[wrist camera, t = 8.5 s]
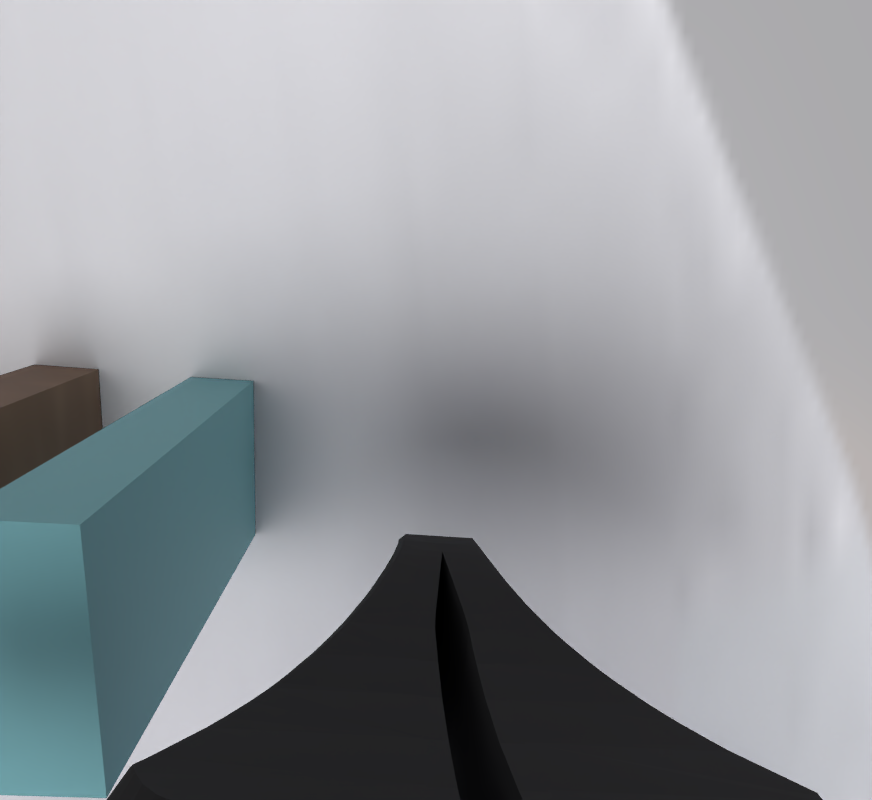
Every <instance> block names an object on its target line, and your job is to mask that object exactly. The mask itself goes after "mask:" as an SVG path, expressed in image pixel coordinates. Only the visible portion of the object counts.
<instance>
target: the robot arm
mask: <svg viewBox="0 0 872 800" xmlns="http://www.w3.org/2000/svg"><path fill="white" fill-rule="evenodd" d="M107 800H822V799H821V797H820V796H819V795H818V793H816V792H814V791H812V790H810V789H808V788H806V787H803V786H801V785H799V784H797V783H795V782H793V781H791V780H789V779H787V778H785V777H783V776H780V775H778V774H776V773H774V772H772V771H770V770H768V769H766V768H764V767H762V766H759V765H757V764H755V763H753V762H751V761H749V760H747V759H745V758H743V757H741V756H739V755H736V754H734V753H732V752H730V751H728V750H726V749H725V748H723V747H721V746H719V745H717V744H715V743H714V742H712V741H710V740H708V739H706V738H705V737H703V736H701V735H699V734H698V733H696V732H694V731H692V730H690V729H689V728H687V727H685V726H683V725H682V724H680V723H678V722H676V721H675V720H673V719H671V718H670V717H668V716H666V715H665V714H663V713H662V712H660V711H658V710H657V709H655V708H653V707H652V706H650V705H649V704H647V703H646V702H644V701H643V700H641V699H640V698H638V697H637V696H635V695H634V694H632V693H631V692H630V691H628V690H627V689H625V688H624V687H622V686H621V685H619V684H618V683H616V682H615V681H613V680H612V679H611V678H609V677H608V676H607V675H605V674H604V673H603V672H601V671H600V670H599V669H597V668H596V667H595V666H593V665H592V664H591V663H590V662H588V661H587V660H586V659H585V658H584V657H582V656H581V655H580V654H579V653H578V652H576V651H575V650H574V649H573V648H571V647H570V646H569V645H568V644H567V643H565V642H564V641H563V640H562V639H561V638H560V637H559V636H558V635H557V634H555V633H554V632H553V631H552V630H551V629H550V628H549V627H548V626H547V625H546V624H545V623H544V622H543V621H542V620H541V619H540V618H539V617H538V616H537V615H536V614H535V613H534V612H533V611H532V610H531V609H530V608H529V607H528V606H527V605H526V604H525V603H524V602H523V600H522V599H521V598H520V597H519V596H518V595H517V594H516V592H515V591H514V590H513V589H512V588H511V587H510V585H509V584H508V583H507V582H506V581H505V579H504V578H503V577H502V576H501V575H500V573H499V572H498V571H497V569H496V568H495V567H494V566H493V564H492V563H491V562H490V560H489V559H488V558H487V556H486V555H485V554H484V552H483V551H482V550H481V549H480V547H479V546H478V545H477V543H476V542H475V541H474V540H473V539H472V538H459V537H443V536H427V535H411V534H405V535H404V536H403V537H402V538H400V539H399V542H398V545H397V547H396V550H395V552H394V554H393V556H392V558H391V559H390V561H389V563H388V564H387V566H386V568H385V569H384V571H383V572H382V574H381V575H380V577H379V578H378V580H377V581H376V583H375V584H374V586H373V587H372V588H371V590H370V591H369V593H368V594H367V595H366V596H365V598H364V599H363V600H362V601H361V602H360V604H359V605H358V606H357V607H356V608H355V610H354V611H353V612H352V613H351V615H350V616H349V617H348V618H347V619H346V620H345V621H344V623H343V624H342V625H341V626H340V627H339V628H338V629H337V630H336V631H335V632H334V633H333V634H332V635H331V636H330V637H329V638H328V639H327V640H326V641H325V642H324V643H323V644H322V645H321V646H320V647H319V648H318V649H317V650H316V651H314V652H313V653H312V654H311V655H310V656H309V657H308V658H306V659H305V660H304V661H303V662H302V663H300V664H299V665H298V666H297V667H296V668H294V669H293V670H292V671H291V672H290V673H289V674H287V675H286V676H285V677H284V678H282V679H281V680H280V681H278V682H277V683H276V684H274V685H273V686H272V687H270V688H269V689H268V690H266V691H265V692H263V693H262V694H260V695H259V696H257V697H256V698H254V699H253V700H251V701H250V702H248V703H247V704H245V705H243V706H242V707H240V708H239V709H237V710H235V711H234V712H232V713H230V714H229V715H227V716H226V717H224V718H222V719H220V720H219V721H217V722H215V723H213V724H212V725H210V726H208V727H207V728H205V729H203V730H201V731H199V732H197V733H195V734H193V735H191V736H189V737H187V738H185V739H183V740H181V741H179V742H177V743H175V744H174V745H172V746H170V747H168V748H166V749H164V750H162V751H160V752H158V753H156V754H154V755H152V756H150V757H148V758H146V759H144V760H142V761H139V762H137V763H135V764H133V765H132V766H131V767H130V768H129V770H128V771H127V772H126V774H125V775H124V776H123V778H122V779H121V781H120V782H119V783H118V785H117V786H116V788H115V789H114V790H113V792H112V793H111V795H110V796H109V797H108V799H107Z"/></svg>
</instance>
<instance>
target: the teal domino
mask: <svg viewBox="0 0 872 800" xmlns="http://www.w3.org/2000/svg"><path fill="white" fill-rule="evenodd" d="M254 536H255V471H254V390H253V381H246V380H230V379H213V378H196V377H190V378H188V379H187V380H185V381H183V382H182V383H180V384H178V385H176V386H175V387H173V388H171V389H170V390H168V391H166V392H165V393H163V394H161V395H159V396H158V397H156V398H154V399H153V400H151V401H149V402H147V403H146V404H144V405H142V406H141V407H139V408H137V409H136V410H134V411H132V412H130V413H129V414H127V415H125V416H124V417H122V418H120V419H118V420H117V421H115V422H113V423H112V424H110V425H108V426H107V427H105V428H103V429H101V430H100V431H98V432H96V433H95V434H93V435H91V436H89V437H88V438H86V439H84V440H83V441H81V442H79V443H78V444H76V445H74V446H72V447H71V448H69V449H67V450H66V451H64V452H62V453H60V454H59V455H57V456H55V457H54V458H52V459H50V460H49V461H47V462H45V463H43V464H42V465H40V466H38V467H37V468H35V469H33V470H32V471H30V472H28V473H26V474H25V475H23V476H21V477H20V478H18V479H16V480H14V481H13V482H11V483H9V484H8V485H6V486H4V487H3V488H1V489H0V795H18V796H53V797H88V798H107V796H108V795H109V793H110V791H111V789H112V788H113V786H114V784H115V782H116V780H117V779H118V777H119V775H120V773H121V772H122V770H123V768H124V766H125V765H126V763H127V761H128V759H129V757H130V756H131V754H132V752H133V750H134V749H135V747H136V745H137V743H138V741H139V740H140V738H141V736H142V734H143V733H144V731H145V729H146V727H147V726H148V724H149V722H150V720H151V718H152V717H153V715H154V713H155V711H156V710H157V708H158V706H159V704H160V702H161V701H162V699H163V697H164V695H165V694H166V692H167V690H168V688H169V687H170V685H171V683H172V681H173V679H174V678H175V676H176V674H177V672H178V671H179V669H180V667H181V665H182V663H183V662H184V660H185V658H186V656H187V655H188V653H189V651H190V649H191V648H192V646H193V644H194V642H195V640H196V639H197V637H198V635H199V633H200V632H201V630H202V628H203V626H204V624H205V623H206V621H207V619H208V617H209V616H210V614H211V612H212V610H213V609H214V607H215V605H216V603H217V601H218V600H219V598H220V596H221V594H222V593H223V591H224V589H225V587H226V585H227V584H228V582H229V580H230V578H231V577H232V575H233V573H234V571H235V570H236V568H237V566H238V564H239V562H240V561H241V559H242V557H243V555H244V554H245V552H246V550H247V548H248V546H249V545H250V543H251V541H252V539H253V538H254Z"/></svg>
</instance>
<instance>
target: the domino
mask: <svg viewBox="0 0 872 800" xmlns="http://www.w3.org/2000/svg"><path fill="white" fill-rule="evenodd" d="M101 429H102V416H101V401H100V387H99V372H98V369H86V368H72V367H59V366H45V365H32V366H28V367H25V368H22V369H19V370H16V371H13V372H9V373H6V374H3V375H0V489H1V488H3V487H4V486H6V485H8V484H9V483H11V482H13V481H14V480H16V479H18V478H20V477H21V476H23V475H25V474H26V473H28V472H30V471H32V470H33V469H35V468H37V467H38V466H40V465H42V464H43V463H45V462H47V461H49V460H50V459H52V458H54V457H55V456H57V455H59V454H60V453H62V452H64V451H66V450H67V449H69V448H71V447H72V446H74V445H76V444H78V443H79V442H81V441H83V440H84V439H86V438H88V437H89V436H91V435H93V434H95V433H96V432H98V431H100V430H101Z"/></svg>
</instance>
